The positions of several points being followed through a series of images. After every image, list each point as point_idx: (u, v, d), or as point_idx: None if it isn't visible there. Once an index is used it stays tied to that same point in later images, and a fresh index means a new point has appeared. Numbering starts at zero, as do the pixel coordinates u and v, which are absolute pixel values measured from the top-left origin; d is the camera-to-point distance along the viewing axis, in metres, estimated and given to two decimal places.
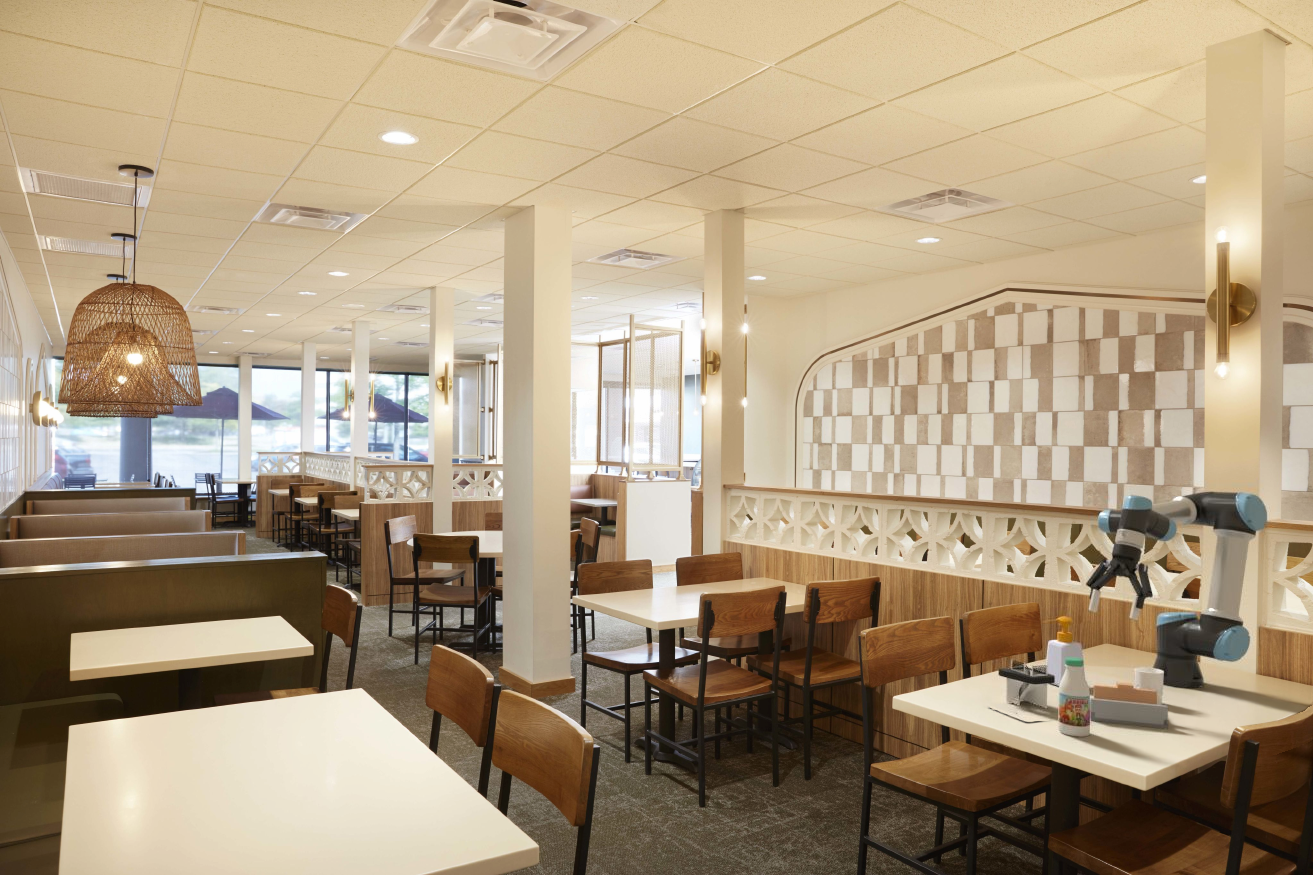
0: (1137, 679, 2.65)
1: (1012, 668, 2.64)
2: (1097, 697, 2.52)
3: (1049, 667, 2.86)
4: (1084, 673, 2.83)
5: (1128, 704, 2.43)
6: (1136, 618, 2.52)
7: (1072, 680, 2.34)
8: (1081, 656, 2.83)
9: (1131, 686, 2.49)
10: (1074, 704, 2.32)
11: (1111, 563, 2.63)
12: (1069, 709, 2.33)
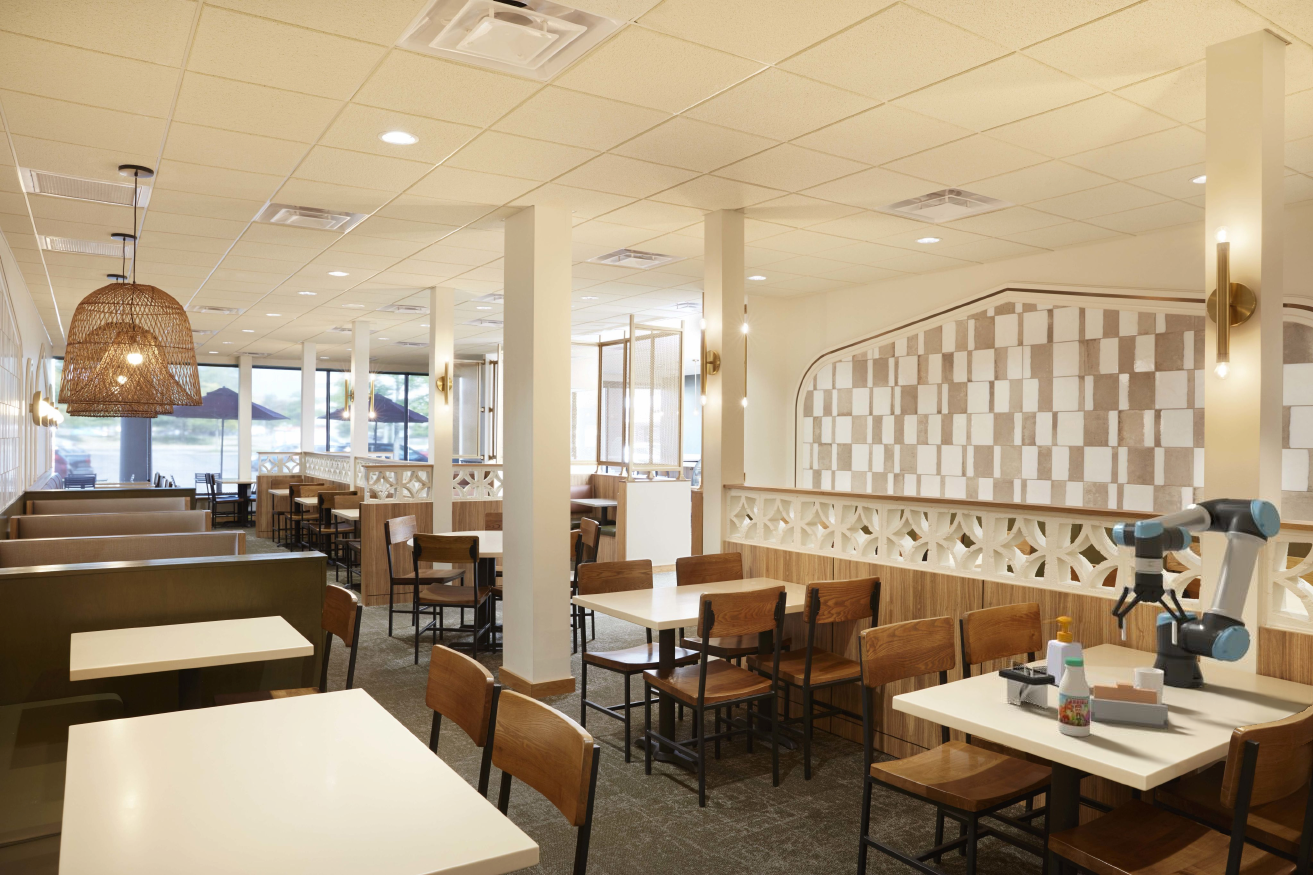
0: (1137, 679, 2.65)
1: (1012, 669, 2.64)
2: (1097, 697, 2.52)
3: (1049, 667, 2.86)
4: (1084, 673, 2.83)
5: (1128, 704, 2.43)
6: None
7: (1072, 680, 2.34)
8: (1081, 656, 2.83)
9: (1131, 686, 2.49)
10: (1074, 704, 2.32)
11: (1137, 591, 2.66)
12: (1069, 709, 2.33)
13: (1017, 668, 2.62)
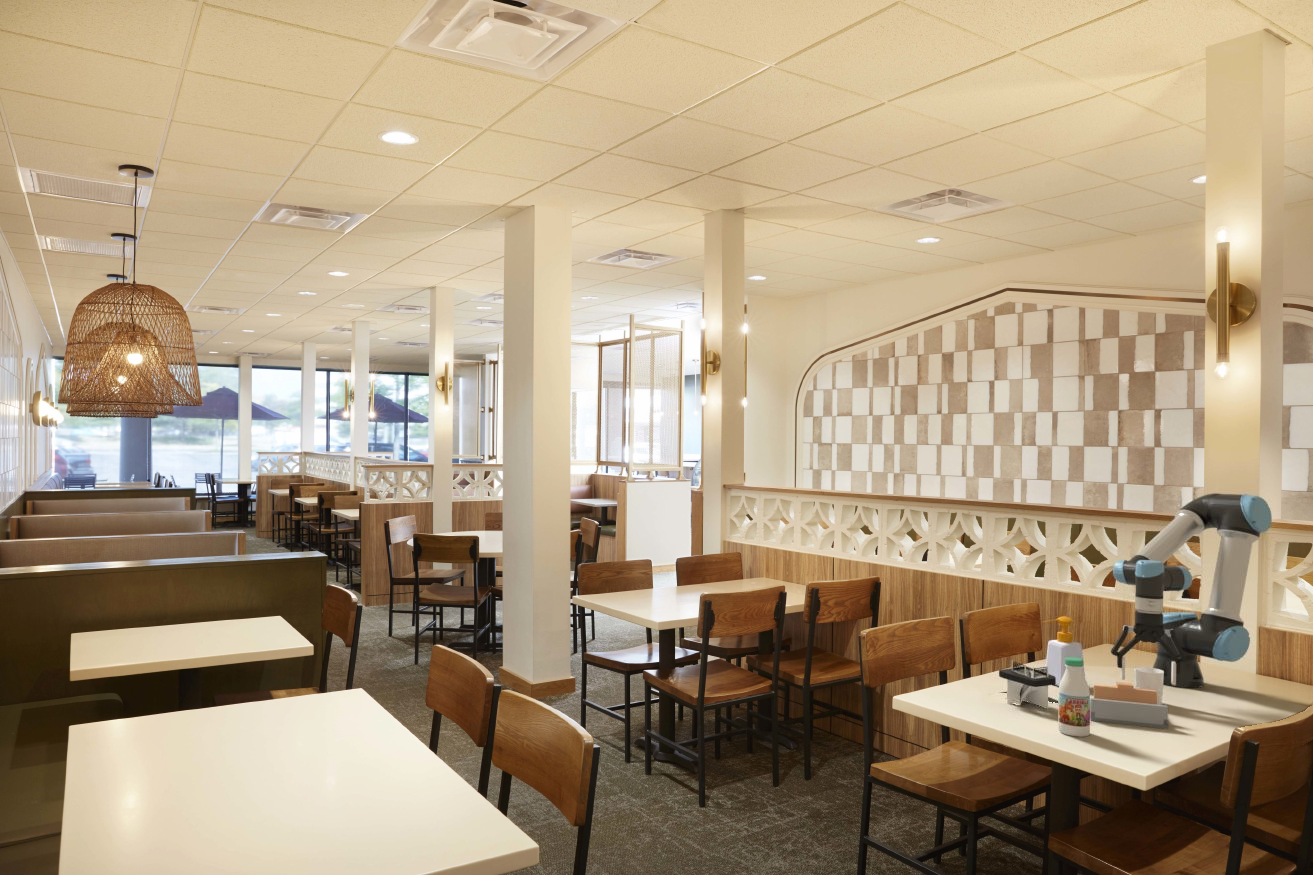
0: (1137, 679, 2.65)
1: (1013, 669, 2.63)
2: (1097, 697, 2.52)
3: (1049, 667, 2.86)
4: (1084, 673, 2.83)
5: (1128, 704, 2.43)
6: None
7: (1072, 680, 2.34)
8: (1081, 656, 2.83)
9: (1131, 686, 2.49)
10: (1074, 704, 2.32)
11: (1136, 630, 2.66)
12: (1069, 709, 2.33)
13: (1017, 669, 2.61)
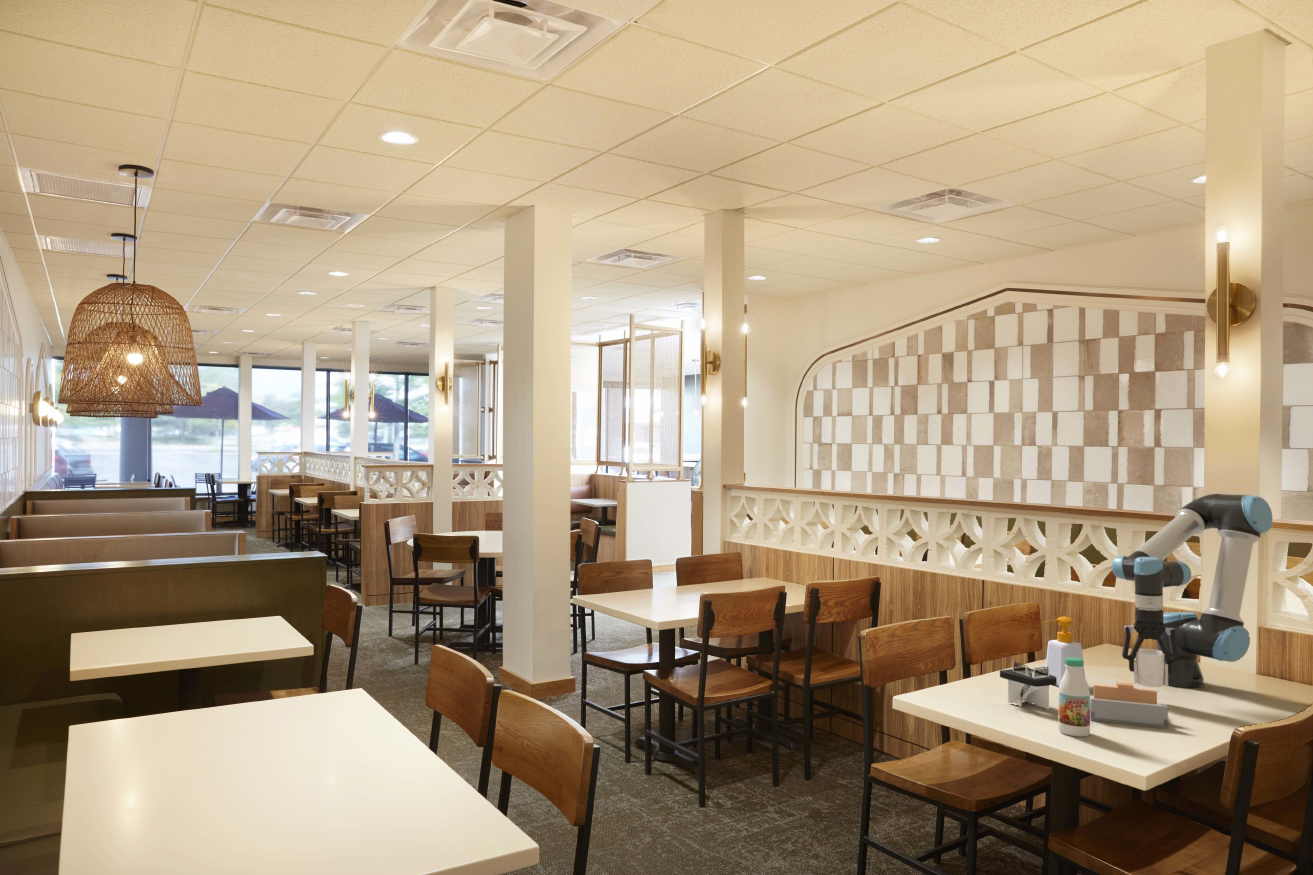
0: (1138, 661, 2.65)
1: (1013, 670, 2.63)
2: (1097, 697, 2.52)
3: (1049, 667, 2.86)
4: (1084, 673, 2.83)
5: (1128, 704, 2.43)
6: None
7: (1072, 680, 2.34)
8: (1081, 656, 2.83)
9: (1131, 686, 2.49)
10: (1074, 704, 2.32)
11: (1138, 628, 2.66)
12: (1069, 709, 2.33)
13: (1018, 669, 2.61)
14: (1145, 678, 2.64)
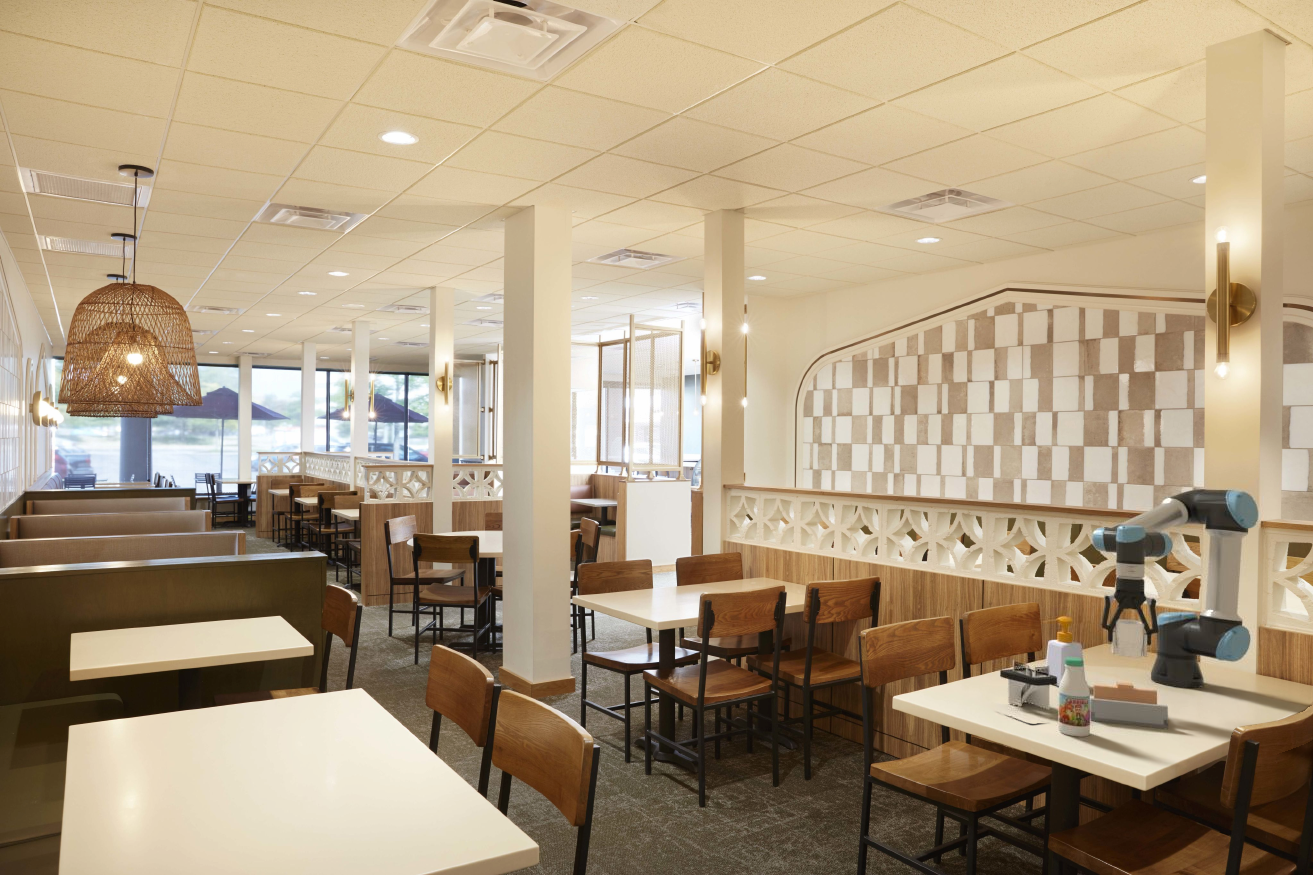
0: (1117, 631, 2.59)
1: (1014, 669, 2.63)
2: (1097, 697, 2.52)
3: None
4: (1084, 673, 2.83)
5: (1128, 704, 2.43)
6: None
7: (1072, 680, 2.34)
8: (1081, 656, 2.83)
9: (1131, 686, 2.49)
10: (1074, 704, 2.32)
11: (1118, 597, 2.60)
12: (1069, 709, 2.33)
13: (1019, 669, 2.61)
14: (1123, 648, 2.57)
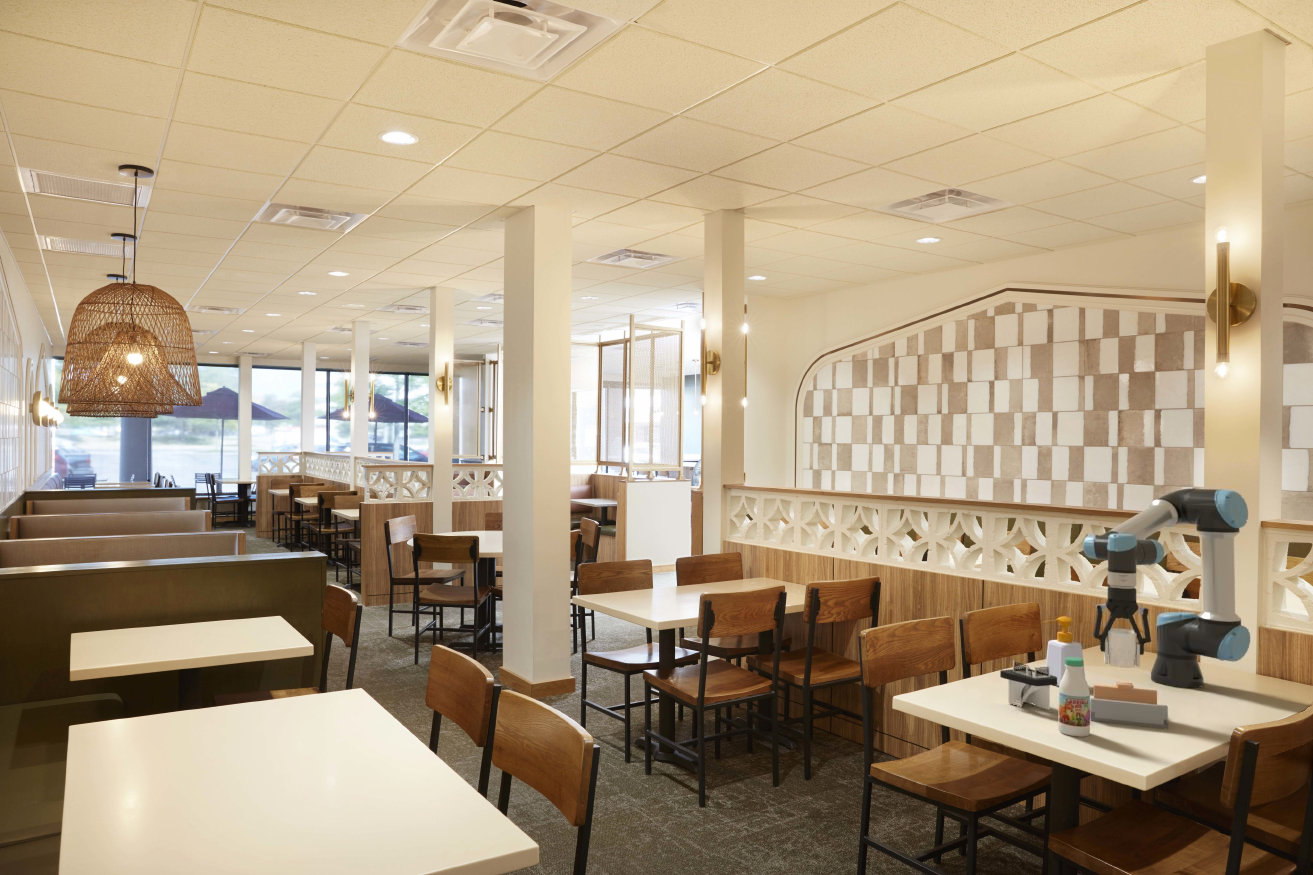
0: (1109, 640, 2.56)
1: (1014, 670, 2.62)
2: (1097, 697, 2.52)
3: None
4: (1084, 673, 2.83)
5: (1128, 704, 2.43)
6: None
7: (1072, 680, 2.34)
8: (1081, 656, 2.83)
9: (1131, 686, 2.49)
10: (1074, 704, 2.32)
11: (1110, 607, 2.57)
12: (1069, 709, 2.33)
13: None
14: (1116, 658, 2.55)
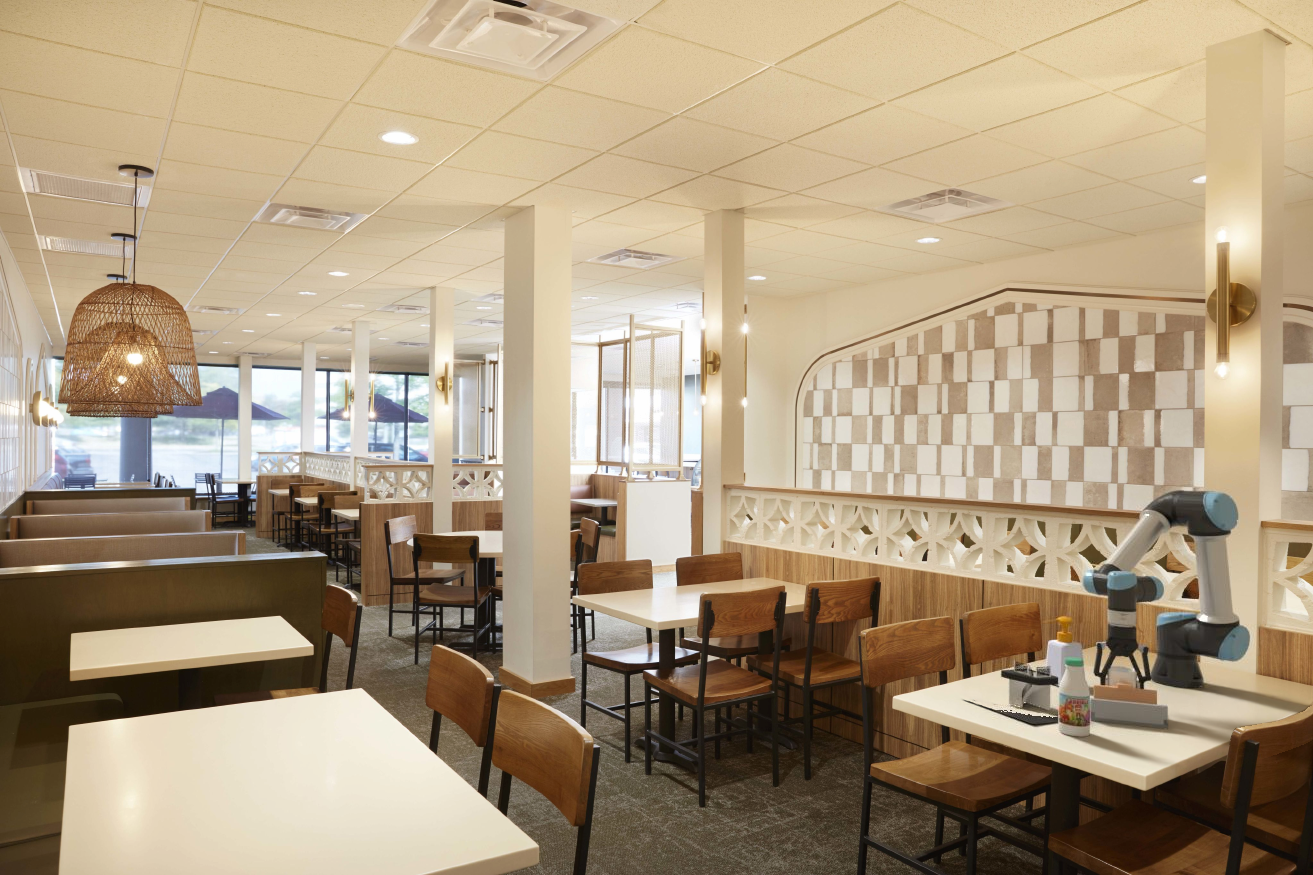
0: (1109, 678, 2.56)
1: (1015, 669, 2.62)
2: (1097, 697, 2.52)
3: (1049, 667, 2.86)
4: (1084, 673, 2.83)
5: (1128, 704, 2.43)
6: None
7: (1072, 680, 2.34)
8: (1081, 656, 2.83)
9: (1131, 686, 2.49)
10: (1074, 704, 2.32)
11: (1110, 645, 2.57)
12: (1069, 709, 2.33)
13: (1020, 669, 2.60)
14: None
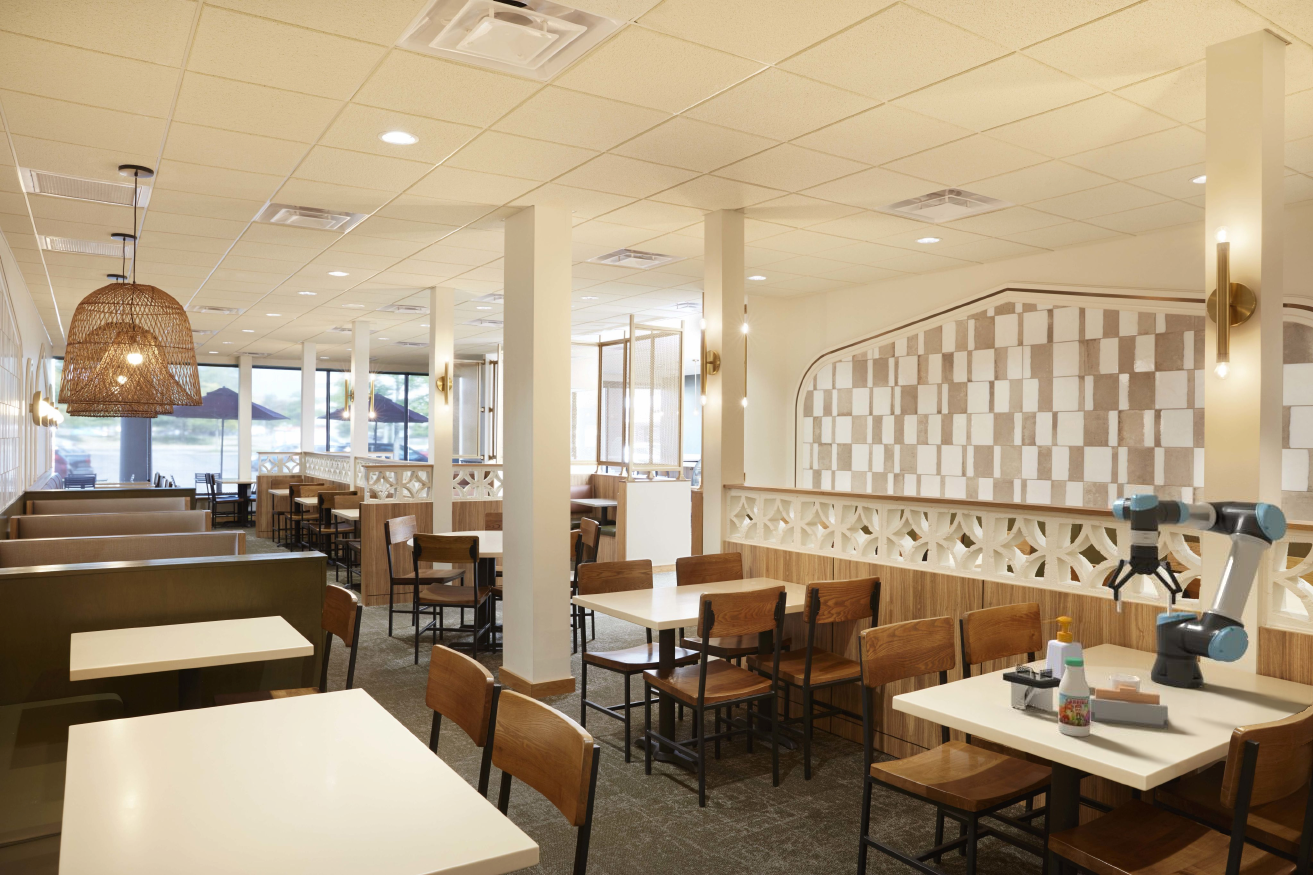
0: (1112, 687, 2.51)
1: (1016, 672, 2.59)
2: None
3: (1049, 667, 2.86)
4: (1084, 673, 2.83)
5: (1128, 704, 2.43)
6: None
7: (1072, 680, 2.34)
8: (1081, 656, 2.83)
9: (1133, 690, 2.45)
10: (1074, 704, 2.32)
11: (1132, 563, 2.68)
12: (1069, 709, 2.33)
13: (1022, 671, 2.58)
14: None
